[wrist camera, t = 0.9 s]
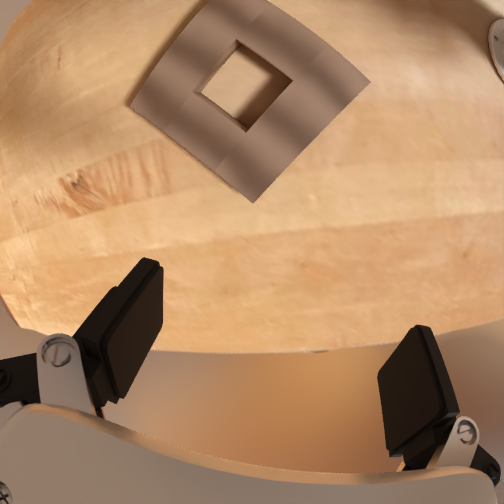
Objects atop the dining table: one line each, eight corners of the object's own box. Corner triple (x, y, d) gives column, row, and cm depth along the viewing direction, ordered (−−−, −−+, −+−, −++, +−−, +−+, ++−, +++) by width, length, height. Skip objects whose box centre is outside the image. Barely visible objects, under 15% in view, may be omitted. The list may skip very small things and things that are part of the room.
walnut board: (235, -12, 23) (229, -21, 21) (364, 83, 27) (370, 82, 25) (141, 105, 32) (129, 106, 30) (256, 195, 37) (253, 203, 34)
